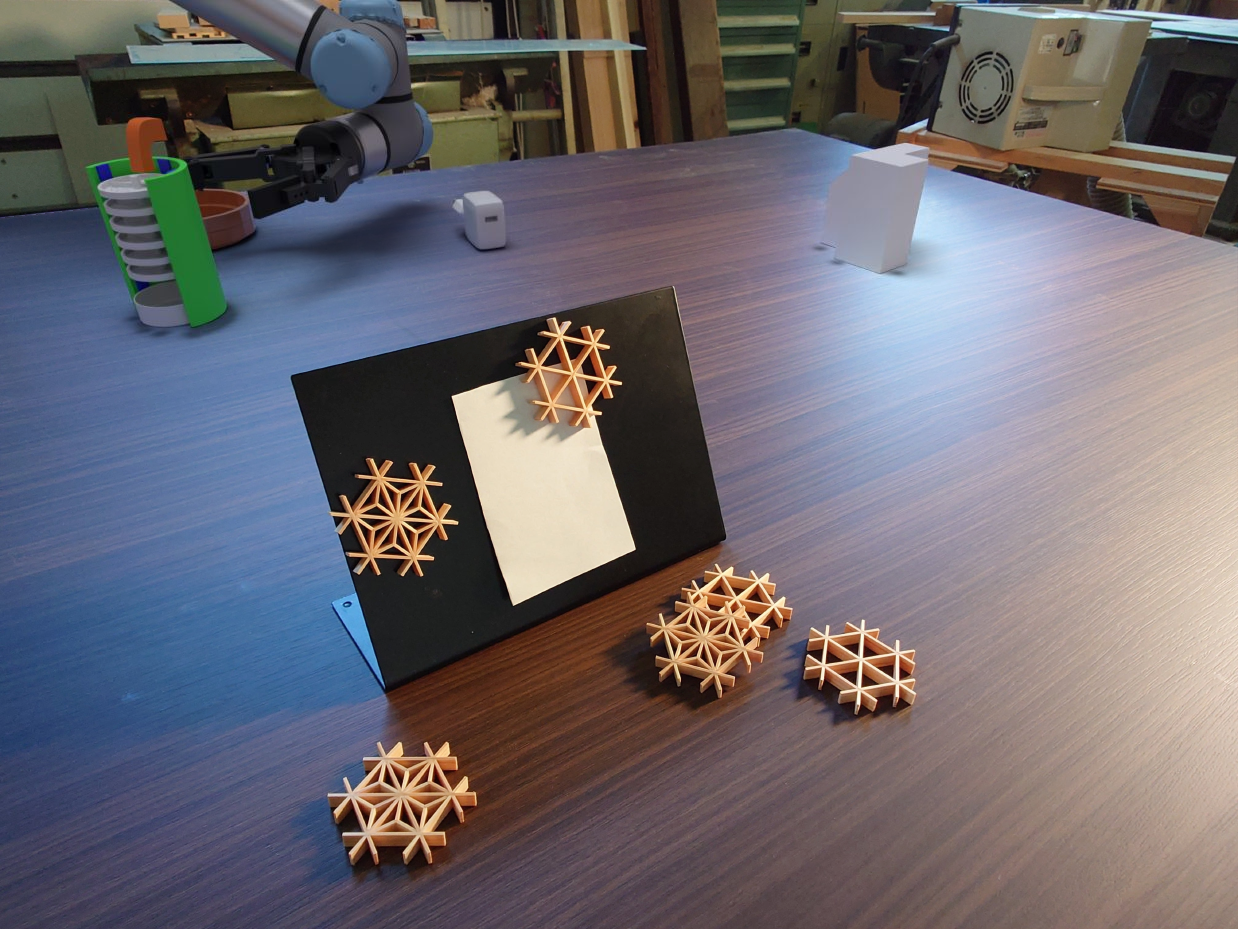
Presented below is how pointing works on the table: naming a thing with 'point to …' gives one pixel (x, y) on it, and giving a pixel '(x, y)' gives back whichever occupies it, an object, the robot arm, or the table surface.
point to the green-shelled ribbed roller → (158, 232)
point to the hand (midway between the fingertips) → (200, 196)
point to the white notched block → (876, 206)
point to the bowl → (225, 216)
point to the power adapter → (482, 219)
